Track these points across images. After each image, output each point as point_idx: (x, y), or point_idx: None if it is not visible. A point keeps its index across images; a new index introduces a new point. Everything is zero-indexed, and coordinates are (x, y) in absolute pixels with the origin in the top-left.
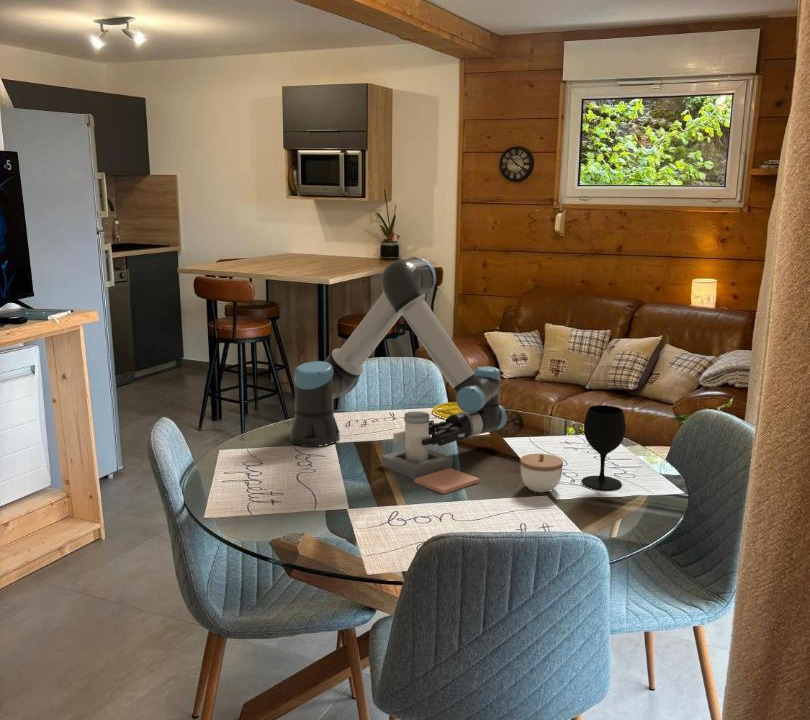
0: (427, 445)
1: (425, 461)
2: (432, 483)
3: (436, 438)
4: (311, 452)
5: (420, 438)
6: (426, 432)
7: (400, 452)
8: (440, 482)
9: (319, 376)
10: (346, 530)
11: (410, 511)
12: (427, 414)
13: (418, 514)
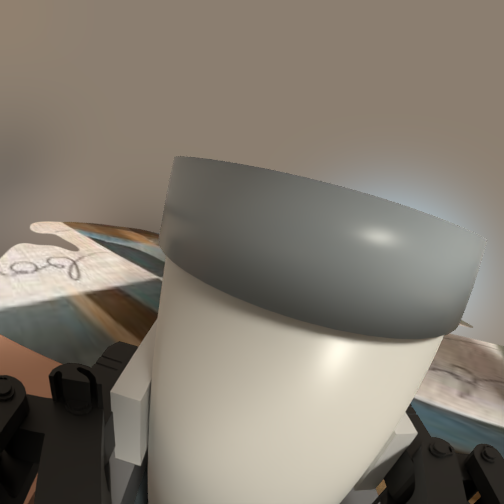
0: (150, 473)
1: (124, 468)
2: (28, 361)
3: (39, 396)
4: (485, 390)
5: (152, 330)
6: (153, 362)
7: (353, 495)
8: (4, 372)
9: None
10: (117, 249)
11: (50, 280)
12: (256, 169)
13: (33, 276)
